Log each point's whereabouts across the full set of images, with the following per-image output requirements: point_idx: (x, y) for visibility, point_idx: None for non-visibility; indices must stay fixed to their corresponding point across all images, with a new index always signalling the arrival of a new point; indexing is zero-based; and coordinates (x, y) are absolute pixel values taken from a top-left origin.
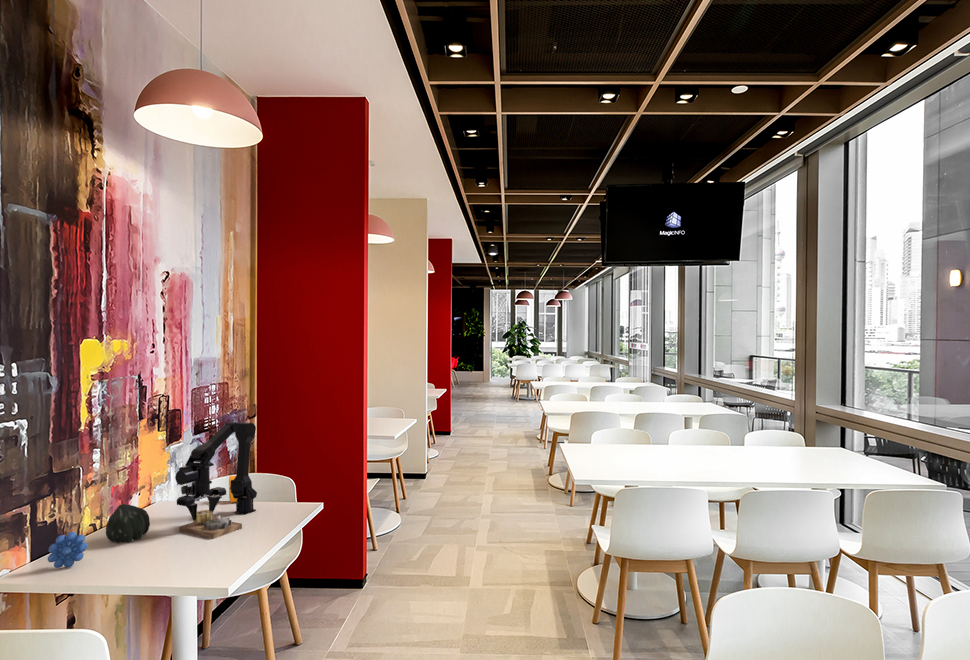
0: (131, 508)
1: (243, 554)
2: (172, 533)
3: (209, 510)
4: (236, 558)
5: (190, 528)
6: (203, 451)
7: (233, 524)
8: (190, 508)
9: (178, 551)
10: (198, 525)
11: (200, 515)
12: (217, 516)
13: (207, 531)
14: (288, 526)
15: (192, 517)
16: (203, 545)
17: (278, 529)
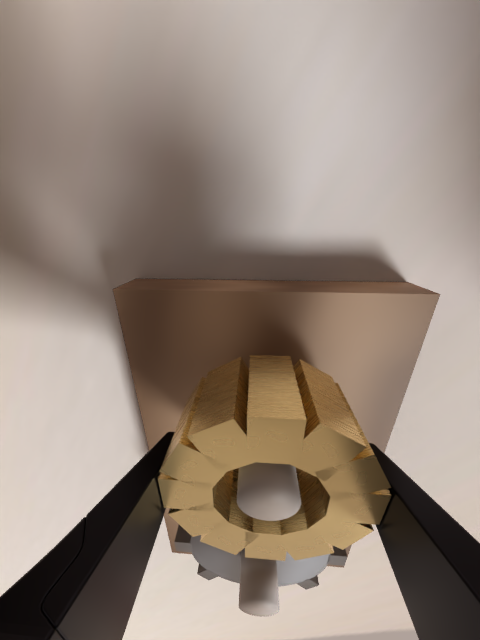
0: None
1: (152, 627)
2: (84, 271)
3: (368, 510)
4: (127, 627)
5: (145, 413)
6: None
7: None
8: (32, 628)
9: (25, 509)
10: None
11: (193, 530)
12: (257, 607)
13: (174, 520)
14: (406, 621)
15: (149, 456)
16: None
17: (365, 614)
